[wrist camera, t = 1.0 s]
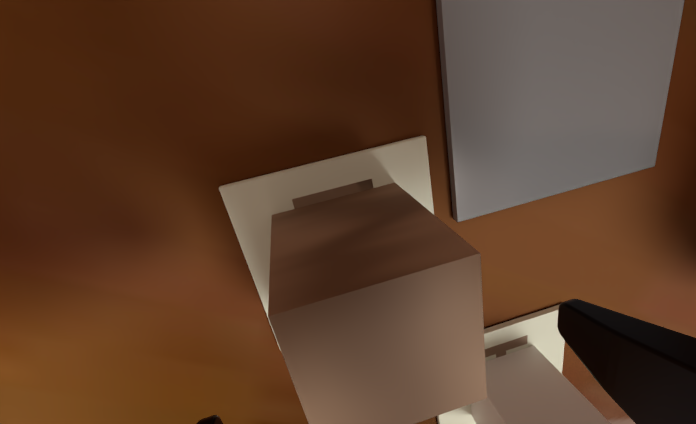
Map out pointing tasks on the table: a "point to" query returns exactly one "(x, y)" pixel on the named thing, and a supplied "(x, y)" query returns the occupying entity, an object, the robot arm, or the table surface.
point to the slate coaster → (551, 94)
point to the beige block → (531, 393)
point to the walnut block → (376, 309)
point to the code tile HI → (517, 348)
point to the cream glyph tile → (319, 193)
